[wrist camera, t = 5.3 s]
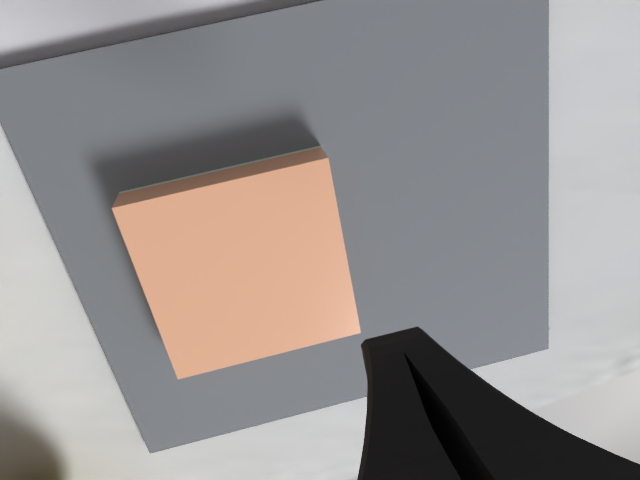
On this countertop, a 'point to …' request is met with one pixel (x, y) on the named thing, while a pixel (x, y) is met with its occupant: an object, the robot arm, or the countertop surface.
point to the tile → (241, 260)
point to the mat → (347, 174)
